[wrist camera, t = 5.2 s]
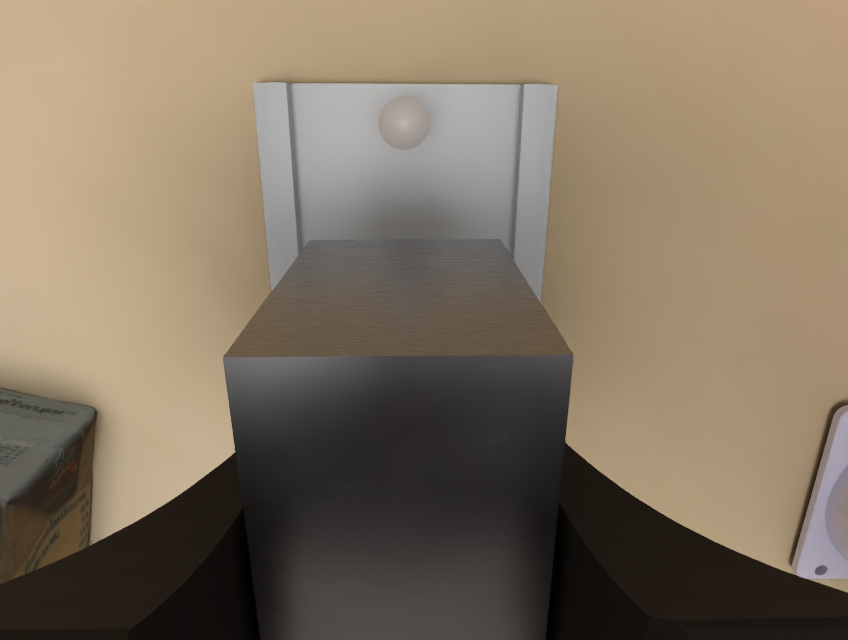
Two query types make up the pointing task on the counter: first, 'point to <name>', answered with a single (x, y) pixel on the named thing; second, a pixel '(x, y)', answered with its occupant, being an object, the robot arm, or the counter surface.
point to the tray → (406, 165)
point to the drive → (400, 444)
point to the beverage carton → (43, 481)
